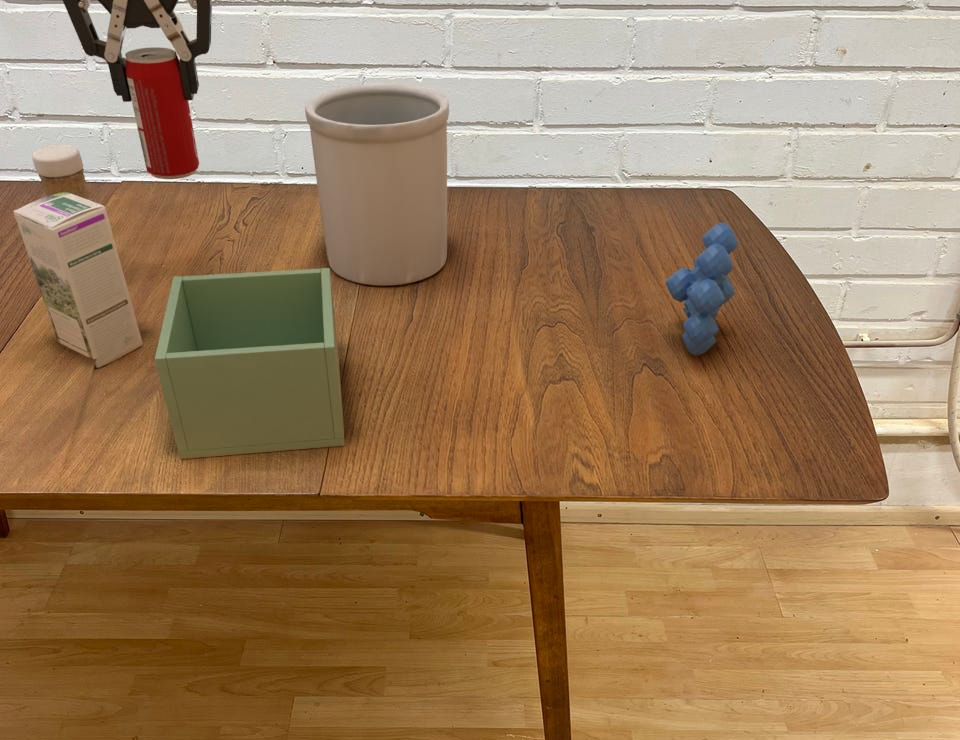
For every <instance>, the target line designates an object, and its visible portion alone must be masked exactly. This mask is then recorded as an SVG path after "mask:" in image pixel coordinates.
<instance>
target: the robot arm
mask: <svg viewBox="0 0 960 740" xmlns="http://www.w3.org/2000/svg"><path fill="white" fill-rule="evenodd" d="M97 1H98V2H99V4H100V5H102V7H103V8H104V9H105V10H106V11H107V13H108V14H109V15H110V17H109V23H108V29H107V36H106V37H107V38H106V40H105V41H104V40H103V39H102V40H101V39H100V38H99V37H100V36H99V34H98V32H97V30H96V27H95V25H94V23H93V20H92V18H91V15H90V13H89V10H88V9H89V8H90V6H91V4H92V3H91V0H62V3H63V5H64V7H65V10H66V12H67V15H68V16H69V19H70V21H71V24H72V26H73V28H74V30H75V31H74V32H75V33H76V35H77V38H78V40H79V43H80V44H81V47H82V49H83V52H84V53H85V54H86V55H87V56H88V57H97V58H101V59H103V60H104V61H105V62H106V64H107V66H108V71H109V75H110V79H111V85H112V88H113V92H114V93H115V94H116V96H117V97H121V100H122V102H123V103H129V102H131V103H132V100H131V95H130V90H129V86H128V81H127V76H126V72H125V64H126V57H123V54H122V50H123V44H124V41H125V40H124V39H125V35H126V33H127V32H126V31H127V29H137V28H140V27H145V28H150V29H161V30H162V32H163V34H164V36H165V37H166V39H167V40H168V41H169V42H170V44H171V45H172V47H173V50H174V51H176V54H177V56H178V58H179V62H178V63H179V68H180V74H181V79H182V85H183V91H184V96H185V100H188V101H194V97H195V95H198V91H199V87H200V82H199V76H198V70H197V64H196V58H197V57H199V56H202V55H206V54H208V53H209V51H210V48H211V45H212V19H213V18H212V16H213V15H212V14H213V13H212V12H213V0H188V3H189V4H188V5H189V6H190V8H192V9H193V10H196V34H195V35H196V38H195V39H192V40H190V38H189V37H188V35H187V33H186V32H185V30H184V27H183V25H182V23H181V21H180V19H179V17H178V16H177V14H176V12H175V8H176V6H177V4H178V2H179V0H97Z"/></svg>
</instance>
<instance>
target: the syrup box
mask: <svg viewBox="0 0 960 740" xmlns="http://www.w3.org/2000/svg"><path fill="white" fill-rule="evenodd" d="M12 211H13V216H14V218H15V221H16V224H17V227H18V229H19V233H20V235H21V238H22V241H23V244H24V248H25V251H26V254H27V256H28V260H29V262H30V265H31V268H32V270H33V271H32V272H33V274H34V276H35V279H36V283H37V285H38V287H39V291H40V294H41V296H42V297H41V298H42V300H43V303H44V306H45V308H46V312H47V314H48V318H49V320H50V323H51V325H52V329H53V331H54V335H55V337H56V340H57V343H59V344H61V345H63V346H64V347H67V348H68V349H71V350H72V351H74V352H77V353H79V354H81V355H83V356H85V357H87V358H89V359H91V360H95V362H94V365H93V368H95V369H100V368H102V367H103V366H106V365H108V364H110V363H113V362H114V361H116V360H118V359H120V358H122V357H124V356H126V355H128V354H129V353H131V352H133V351H135V350H136V349H138V348H140V347H142V346H143V344H144V343H143V339H142V336H141V332H140V328H139V326H138V321H137V317H136V314H135V310H134V307H133V303H132V300H131V295H130V293H129V292H130V291H129V288H128V285H127V281H126V277H125V274H124V271H123V267H122V263H121V259H120V255H119V252H118V249H117V245H116V242H115V237H114V233H113V230H112V227H111V223H110V220H109V217H108V213H107V209H106V206H105V205H103V204H100V203H99V202H98V203H97V202H95V201H92V200H91V201H90V200H87V199H84V198H82V197H79V196H76V195H73V194H71V193H68V192H61V193H57V194H54V195H50V196H47V197H46V196H44V197H42V198H39V199H37V200H34V201H32V202H30V203H28V204H25V205H23V206H21V207H19V208H17V209H14V210H12Z"/></svg>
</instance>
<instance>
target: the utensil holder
mask: <svg viewBox="0 0 960 740" xmlns="http://www.w3.org/2000/svg"><path fill="white" fill-rule="evenodd" d="M304 112H305V118H306V121H307V124H308V126H309V129H310V130H309V131H310V139H311V147H312V155H313V162H314V172H315V180H316V188H317V195H318V202H319V210H320V219H321V224H322V225H321V226H322V232H323V238H324V243H325V250H326V256H327V261H328V264H329V268H330V270H332V271H333V272H334V273H335V274H336V275H338V276H339V277H341V278H343V279H345V280H346V281H350V282H353V283H357V284H361V285H368V286H379V287H380V286H381V287H382V286H383V287H385V286H401V285H406V284H411V283H416V282H419V281H422V280H425V279H427V278H430V277H432V276H433V275H435V274H436V273H438V272H439V271H440V270H441V269H442V268H443V267H444V266H445V264H446V262H447V256H448V126H447V125H448V124H447V122H448V119H449V117H450V104H449V100H448V98H447V96H445V94H444V93H442V92H440V91H438V90H436V89H433V88H430V87H426V86H423V85H418V84H411V83H401V82H371V83H360V84H359V83H358V84H351V85H345V86H341V87H340V86H339V87H336V88H332V89H327V90H325V91H322V92H319V93H317V94H315V95H313V96H311V97H310V98H309V99H308V100H307V101H306V103H305V105H304Z"/></svg>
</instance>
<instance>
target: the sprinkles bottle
mask: <svg viewBox="0 0 960 740" xmlns="http://www.w3.org/2000/svg"><path fill="white" fill-rule="evenodd" d="M31 158H32V162H33V166H34V169H35V173H36V174H38V177H39V179H40V182H41V186H42V188H43V192H44V195H45V197H47V196H50V195H54V194H57V193H61V192H68V193H71V194H73V195H76V196H79V197H82V198H84V199H87V200H90V201H92V198H91V194H90V191H89V187H88V184H87V181H86V176H85V174H84V171H85V170H84V169H85V168H84V162H83V158H82V156H81V152H80V150H79V149H78V148H77V147H76V146H73V145H70V144H69V145H68V144H52V145H48V146H44V147H40V148H38V149H36V150H35V151H33V152H32V155H31Z"/></svg>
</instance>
